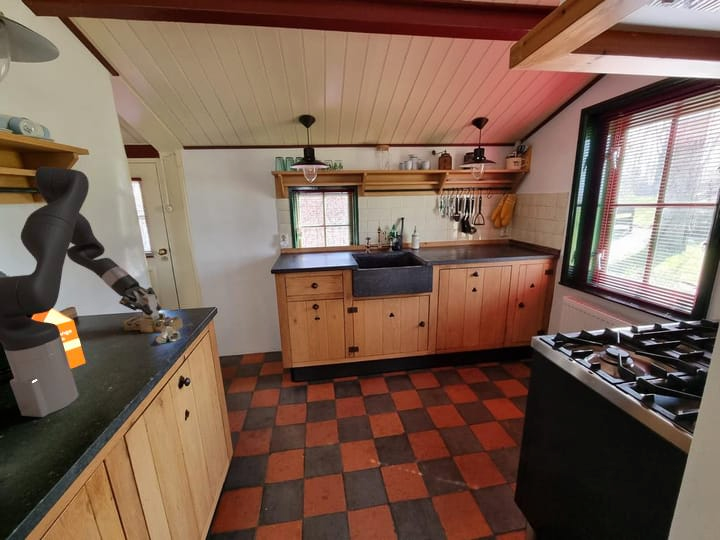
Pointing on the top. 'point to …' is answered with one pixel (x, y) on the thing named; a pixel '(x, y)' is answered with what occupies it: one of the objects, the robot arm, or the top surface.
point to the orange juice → (65, 335)
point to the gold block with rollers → (148, 324)
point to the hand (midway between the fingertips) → (155, 311)
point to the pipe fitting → (168, 335)
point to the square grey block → (150, 306)
